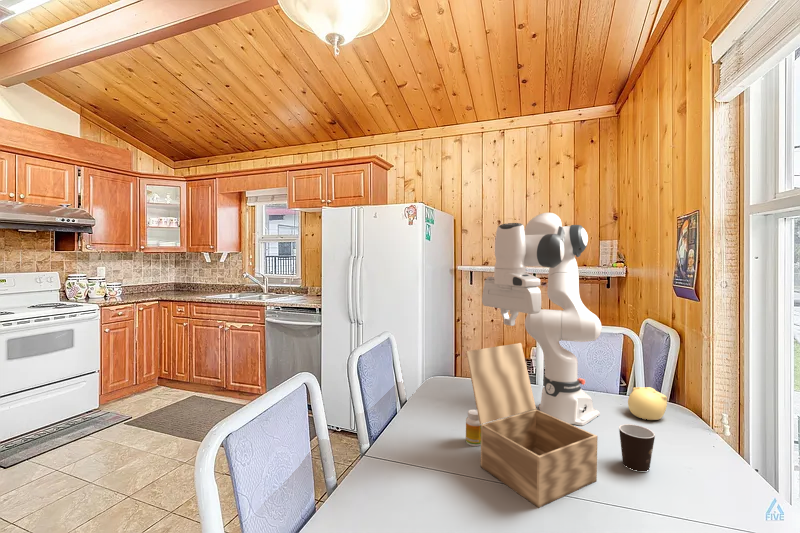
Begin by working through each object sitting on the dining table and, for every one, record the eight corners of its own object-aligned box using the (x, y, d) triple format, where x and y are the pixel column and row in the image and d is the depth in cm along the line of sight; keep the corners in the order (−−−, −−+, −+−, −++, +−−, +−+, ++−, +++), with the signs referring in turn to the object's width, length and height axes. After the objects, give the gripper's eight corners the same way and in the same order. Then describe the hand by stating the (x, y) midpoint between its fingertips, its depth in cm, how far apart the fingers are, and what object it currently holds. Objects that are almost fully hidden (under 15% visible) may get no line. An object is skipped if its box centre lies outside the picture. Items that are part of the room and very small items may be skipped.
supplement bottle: (483, 447, 119) (483, 416, 119) (465, 445, 120) (465, 414, 120) (482, 439, 125) (483, 409, 124) (465, 437, 126) (466, 408, 125)
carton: (535, 448, 119) (536, 409, 119) (596, 481, 102) (597, 435, 101) (480, 467, 108) (481, 424, 108) (538, 508, 91) (539, 457, 90)
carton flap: (536, 408, 119) (534, 408, 119) (521, 342, 124) (519, 343, 124) (481, 424, 108) (479, 423, 108) (467, 351, 113) (465, 351, 113)
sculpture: (671, 418, 141) (671, 389, 141) (656, 426, 134) (656, 395, 134) (637, 408, 151) (638, 380, 150) (621, 415, 144) (622, 386, 143)
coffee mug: (642, 477, 103) (643, 440, 103) (611, 462, 111) (612, 427, 111) (667, 467, 109) (668, 431, 108) (636, 453, 116) (637, 420, 116)
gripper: (477, 276, 122) (477, 320, 122) (529, 281, 104) (528, 332, 105) (492, 275, 125) (492, 318, 125) (545, 280, 107) (544, 329, 108)
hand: (509, 324), depth 115 cm, fingers closed
